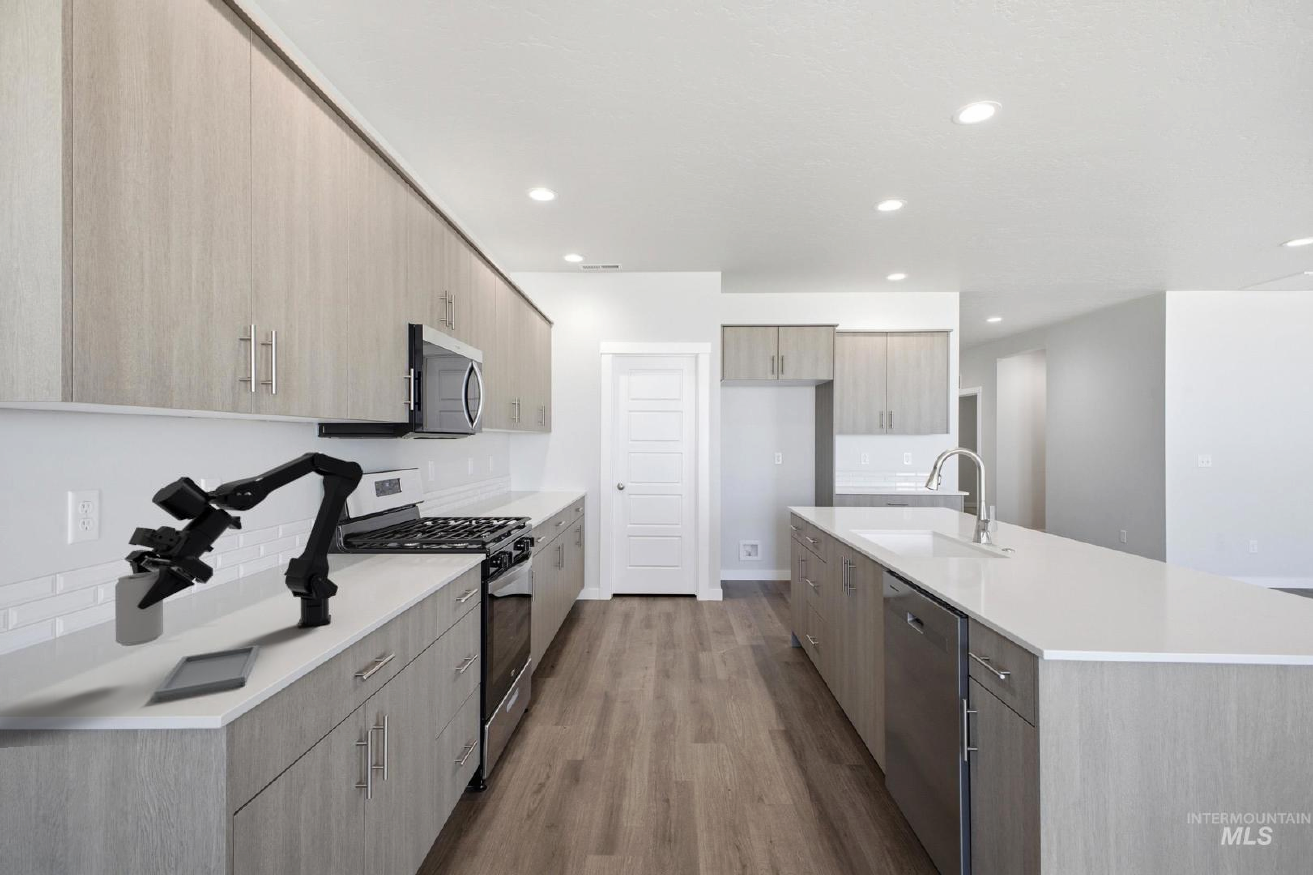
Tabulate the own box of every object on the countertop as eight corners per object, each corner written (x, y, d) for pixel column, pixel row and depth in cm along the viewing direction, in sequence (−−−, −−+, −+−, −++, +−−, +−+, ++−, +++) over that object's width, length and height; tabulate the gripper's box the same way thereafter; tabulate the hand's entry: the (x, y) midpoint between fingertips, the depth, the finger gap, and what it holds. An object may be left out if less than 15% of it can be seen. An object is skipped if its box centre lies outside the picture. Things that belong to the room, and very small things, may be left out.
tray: (182, 665, 108) (182, 656, 108) (258, 652, 114) (258, 645, 114) (154, 702, 92) (154, 692, 92) (244, 685, 98) (244, 676, 98)
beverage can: (107, 649, 98) (106, 580, 98) (129, 637, 105) (128, 572, 105) (151, 644, 100) (150, 577, 100) (170, 633, 106) (170, 569, 106)
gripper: (137, 508, 110) (60, 578, 100) (193, 511, 102) (116, 587, 92) (184, 541, 117) (118, 609, 107) (240, 546, 110) (174, 620, 99)
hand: (130, 606), depth 101 cm, fingers closed on beverage can, 6 cm apart
